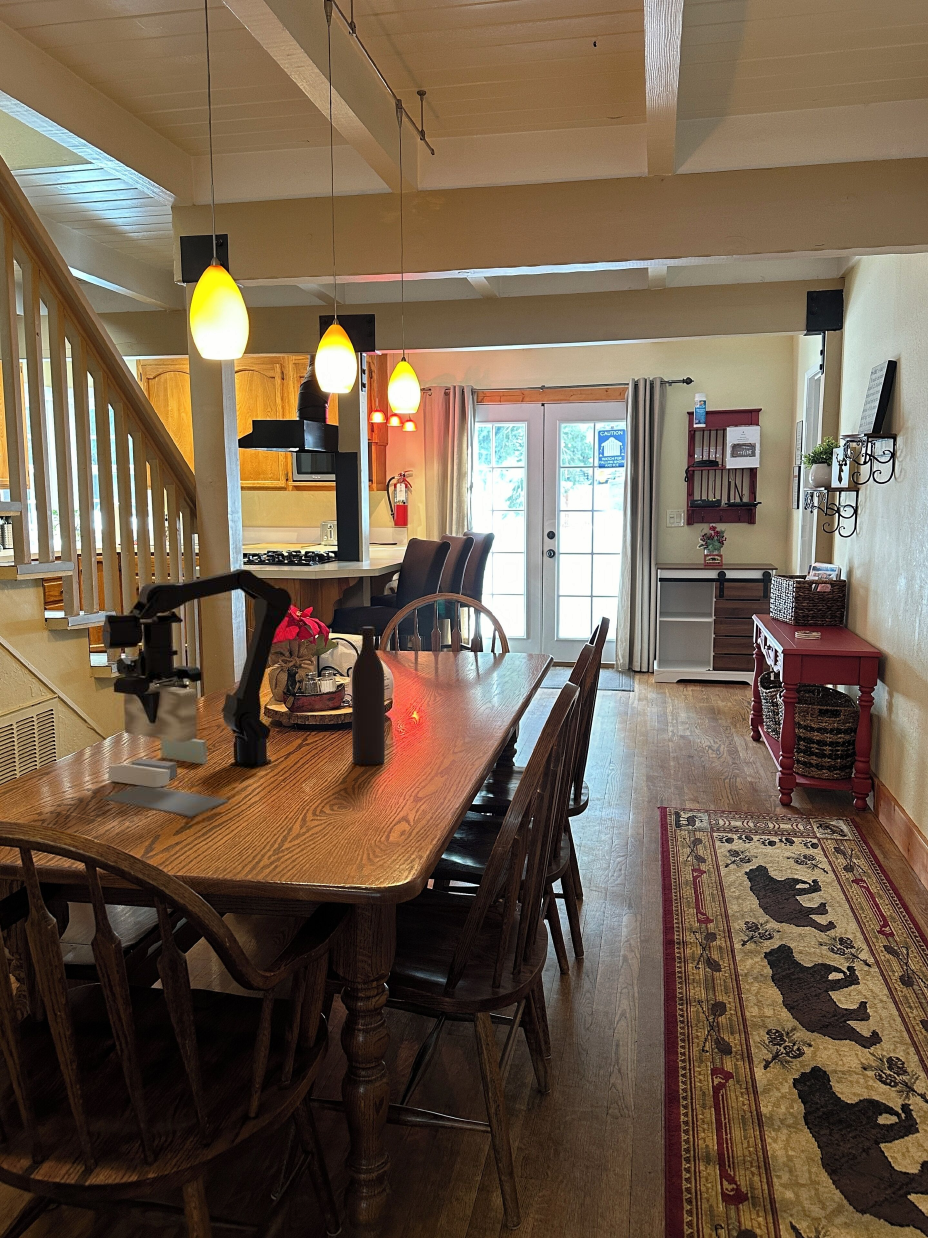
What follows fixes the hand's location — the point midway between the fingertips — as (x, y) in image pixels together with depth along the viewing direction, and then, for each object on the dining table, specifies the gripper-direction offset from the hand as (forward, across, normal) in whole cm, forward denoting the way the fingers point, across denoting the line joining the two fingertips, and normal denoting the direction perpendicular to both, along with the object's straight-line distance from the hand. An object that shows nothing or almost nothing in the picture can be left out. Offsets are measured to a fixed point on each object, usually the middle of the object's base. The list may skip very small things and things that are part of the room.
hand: (160, 721), depth 189 cm
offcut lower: (+12, +5, -1) cm, 13 cm away
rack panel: (+12, -12, -6) cm, 18 cm away
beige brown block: (+3, 0, 0) cm, 3 cm away
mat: (+12, +10, +12) cm, 20 cm away
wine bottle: (+12, -31, +30) cm, 45 cm away
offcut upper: (+11, +2, -2) cm, 11 cm away
